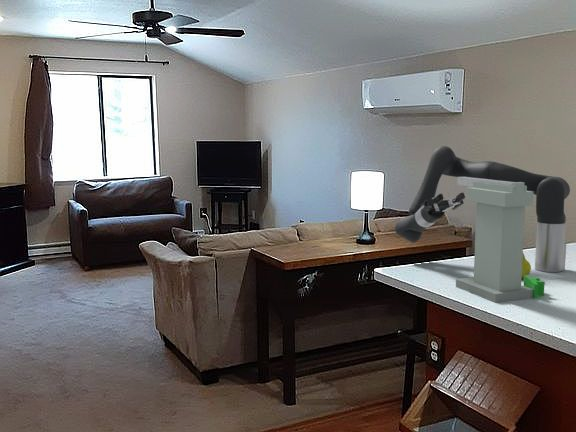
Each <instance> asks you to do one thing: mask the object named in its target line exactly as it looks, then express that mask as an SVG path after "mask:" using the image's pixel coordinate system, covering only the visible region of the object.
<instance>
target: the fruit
mask: <svg viewBox="0 0 576 432" xmlns="http://www.w3.org/2000/svg"><path fill="white" fill-rule="evenodd" d="M531 270H532V266H531V263H530V262H529V260H527V259H526V256H525V253H524V252H523V258H522V279H524V275H528V276H529V274H530V273H531Z"/></svg>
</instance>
